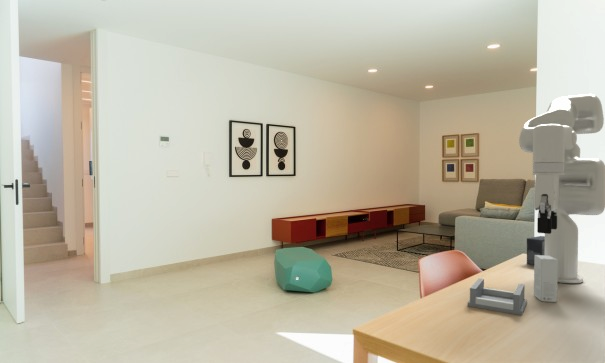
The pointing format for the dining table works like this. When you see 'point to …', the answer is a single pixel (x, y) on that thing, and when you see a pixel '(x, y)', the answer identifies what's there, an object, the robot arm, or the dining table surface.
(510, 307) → the rest
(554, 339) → the dining table surface
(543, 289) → the skincare box
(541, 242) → the small box
